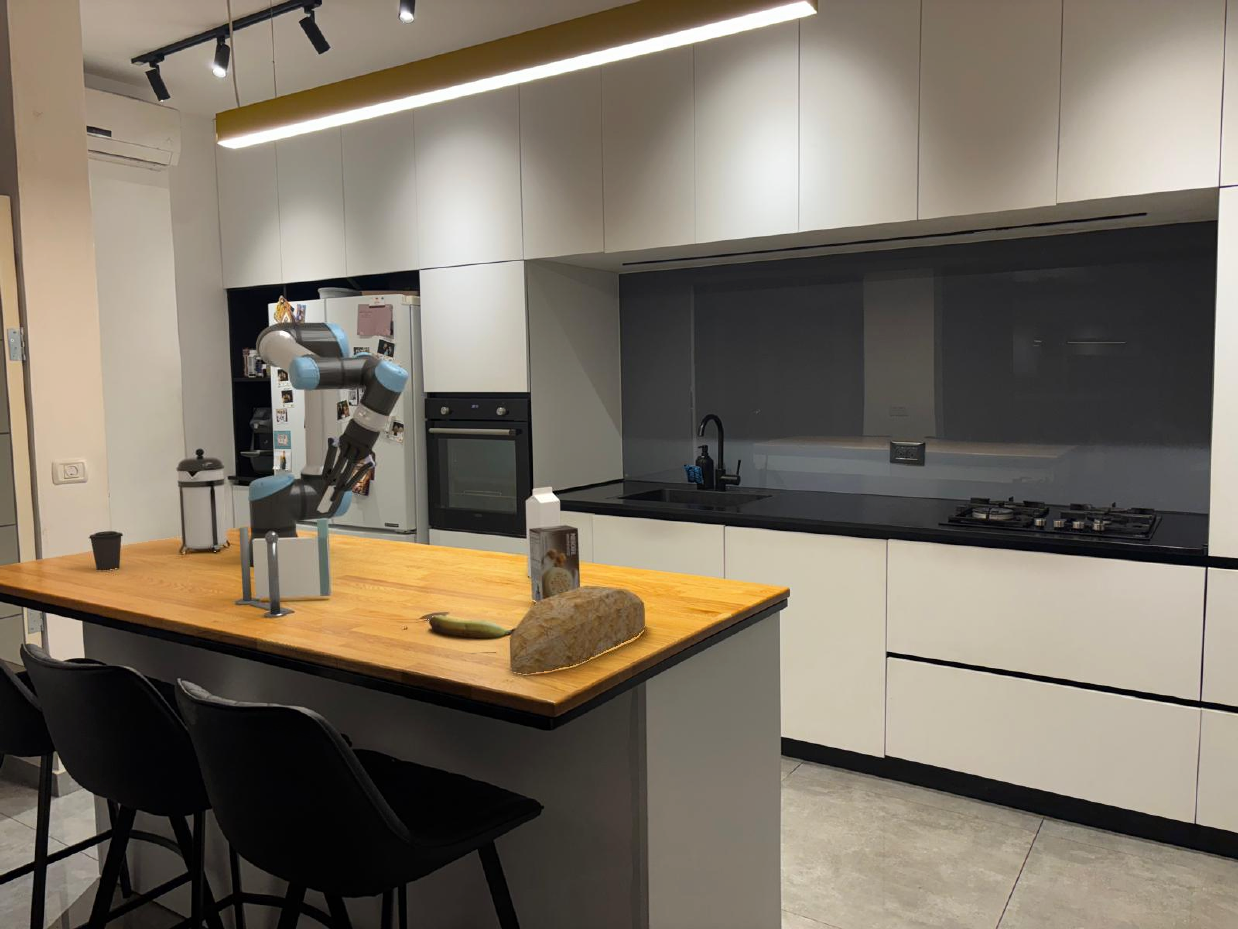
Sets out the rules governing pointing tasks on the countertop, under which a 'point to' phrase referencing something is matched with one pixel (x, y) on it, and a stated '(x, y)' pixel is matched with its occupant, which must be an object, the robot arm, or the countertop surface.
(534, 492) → the milk
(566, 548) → the coffee box
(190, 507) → the coffee press
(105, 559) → the coffee cup
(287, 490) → the robot arm
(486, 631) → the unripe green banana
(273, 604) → the post
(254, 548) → the gate
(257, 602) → the sill
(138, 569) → the countertop surface
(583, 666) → the countertop surface
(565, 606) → the bread
